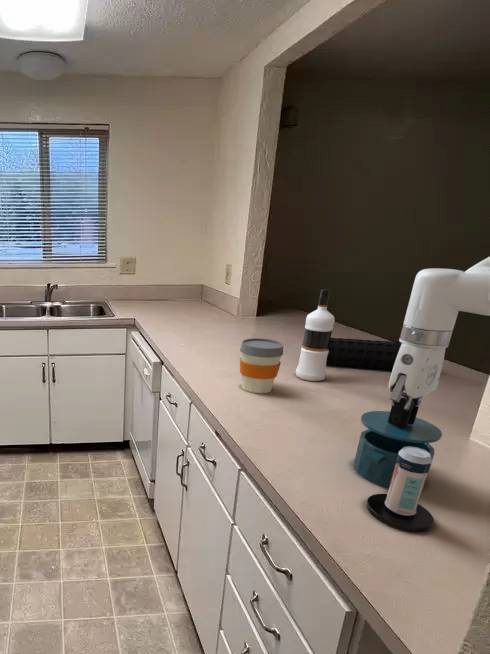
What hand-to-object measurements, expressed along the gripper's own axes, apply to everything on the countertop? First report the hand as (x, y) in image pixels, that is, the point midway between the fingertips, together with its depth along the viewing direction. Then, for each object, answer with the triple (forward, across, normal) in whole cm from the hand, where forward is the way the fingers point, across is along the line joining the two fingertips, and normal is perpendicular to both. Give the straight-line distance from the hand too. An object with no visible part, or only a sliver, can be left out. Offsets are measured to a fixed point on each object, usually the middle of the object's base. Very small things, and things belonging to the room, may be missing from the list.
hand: (400, 423), depth 88 cm
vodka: (+12, +42, +45) cm, 63 cm away
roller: (+12, +68, +43) cm, 82 cm away
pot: (+12, 0, 0) cm, 12 cm away
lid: (+1, 0, 0) cm, 1 cm away
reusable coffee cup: (+12, +18, +48) cm, 53 cm away
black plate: (+12, -13, -8) cm, 19 cm away
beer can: (+11, -13, -8) cm, 19 cm away
